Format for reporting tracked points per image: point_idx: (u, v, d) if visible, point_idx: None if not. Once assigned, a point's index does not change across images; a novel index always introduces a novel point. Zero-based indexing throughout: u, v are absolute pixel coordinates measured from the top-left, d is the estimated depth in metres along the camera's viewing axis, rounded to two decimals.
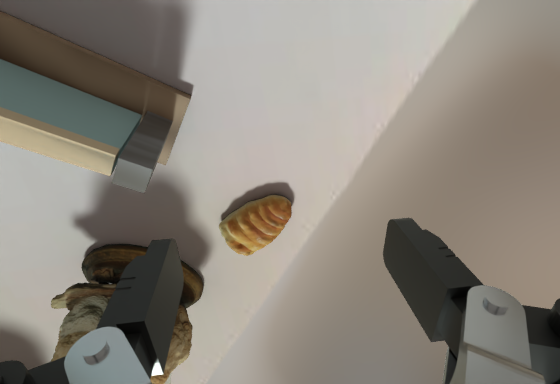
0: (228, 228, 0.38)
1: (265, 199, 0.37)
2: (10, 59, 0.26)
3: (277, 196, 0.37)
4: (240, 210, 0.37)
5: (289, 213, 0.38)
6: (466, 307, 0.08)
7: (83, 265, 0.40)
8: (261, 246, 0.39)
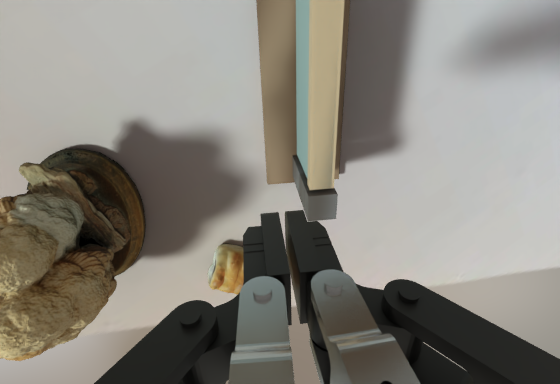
0: (232, 257, 0.36)
1: None
2: None
3: None
4: None
5: None
6: (315, 302, 0.08)
7: (70, 152, 0.30)
8: (229, 291, 0.38)
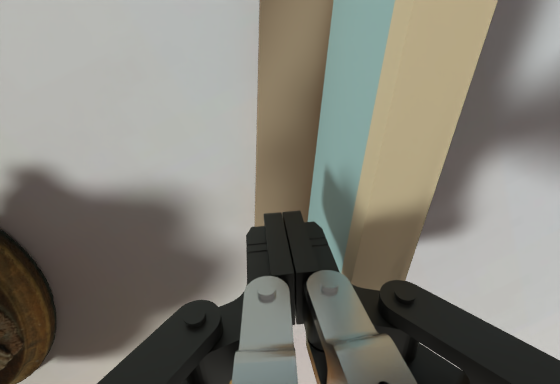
0: None
1: None
2: None
3: None
4: None
5: None
6: (312, 303, 0.08)
7: None
8: None
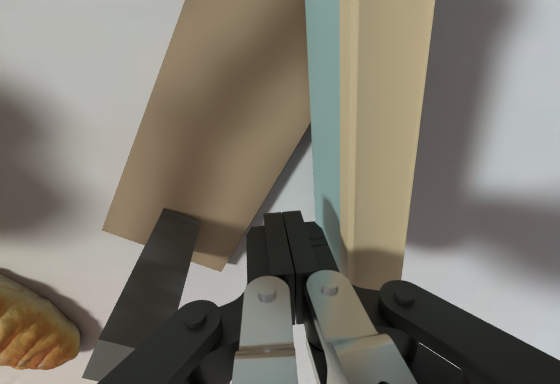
0: None
1: (68, 332, 0.23)
2: (280, 51, 0.15)
3: (78, 343, 0.24)
4: (31, 307, 0.21)
5: (52, 368, 0.23)
6: (311, 303, 0.08)
7: None
8: None
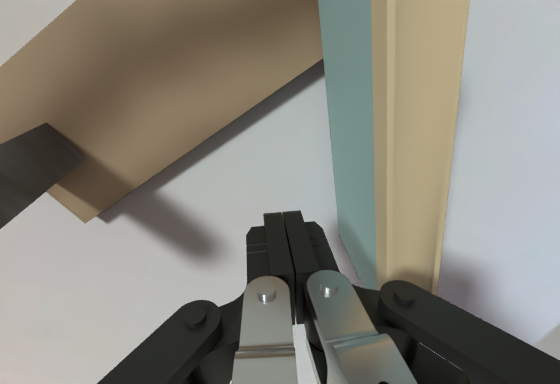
0: None
1: None
2: (248, 25, 0.14)
3: None
4: None
5: None
6: (312, 303, 0.08)
7: None
8: None
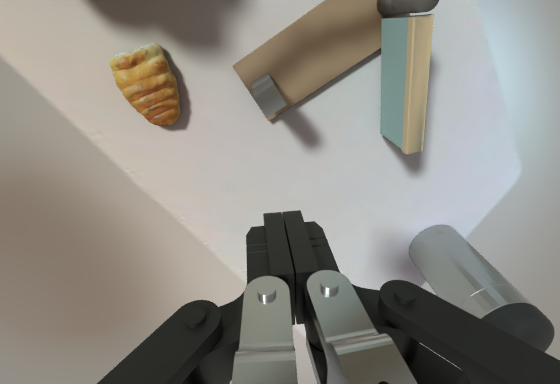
0: (160, 60, 0.35)
1: (179, 107, 0.39)
2: (353, 34, 0.37)
3: (177, 118, 0.39)
4: (175, 79, 0.37)
5: (157, 124, 0.39)
6: (312, 302, 0.08)
7: None
8: (123, 83, 0.35)
